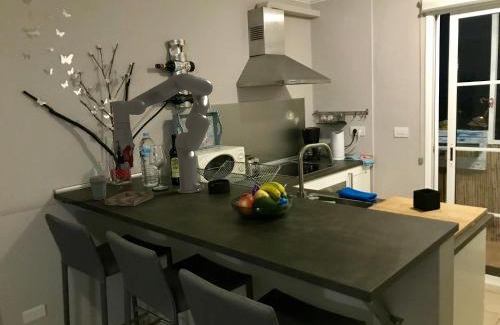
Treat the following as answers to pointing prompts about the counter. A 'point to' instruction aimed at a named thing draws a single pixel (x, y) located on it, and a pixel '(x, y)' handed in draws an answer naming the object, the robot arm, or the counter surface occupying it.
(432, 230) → the counter surface
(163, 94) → the robot arm
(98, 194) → the coffee cup
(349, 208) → the counter surface
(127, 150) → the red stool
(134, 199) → the tray
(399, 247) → the counter surface
